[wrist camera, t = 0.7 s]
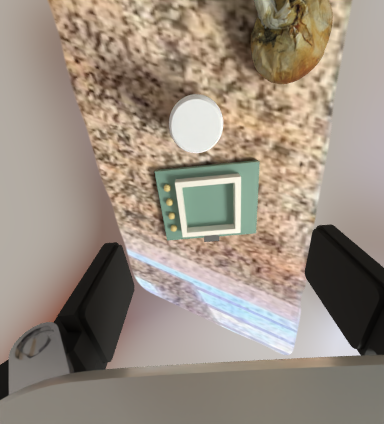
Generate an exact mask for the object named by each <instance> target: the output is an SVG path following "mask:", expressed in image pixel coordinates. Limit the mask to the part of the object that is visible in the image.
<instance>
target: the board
mask: <svg viewBox="0 0 384 424" xmlns="http://www.w3.org/2000/svg"><path fill="white" fill-rule="evenodd" d="M155 177H156V182H157V188H158V193H159V199H160V204H161V209H162V215H163V220H164V225H165V231H166V236H167V240H178V239H190V238H203V237H204V242H210V241H219V236H228V235H240V234H253V233H256V222H257V202H258V182H259V161H258V160H253V161H243V162H233V163H222V164H212V165H202V166H191V167H181V168H171V169H161V170H155Z"/></svg>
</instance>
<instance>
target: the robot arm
mask: <svg viewBox="0 0 384 424" xmlns="http://www.w3.org/2000/svg"><path fill="white" fill-rule="evenodd" d="M305 276H306V279H307V280H308V282H309V283H310V285H311V286H312V288H313V289H314V291H315V292H316V294H317V295H318V297H319V298H320V300H321V301H322V303H323V304H324V306H325V307H326V309H327V310H328V312H329V314H330V315H331V317H332V318H333V320H334V321H335V323H336V324H337V326H338V327H339V329H340V330H341V332H342V333H343V335H344V336H345V338H346V339H347V340H348V342H349V344H350V345H351V346H352V347H353V348H354V349H357V350H358V352H359V353H360V355H361V356H338V357H318V358H297V359H278V360H277V359H275V360H257V361H238V362H219V363H200V364H183V365H165V366H147V367H131V368H120V369H119V368H118V369H105V368H106V366H107V363H108V362H110V361H111V360H112V358H113V354H114V352H115V349H116V345H117V342H118V339H119V336H120V333H121V330H122V327H123V324H124V320H125V317H126V314H127V311H128V308H129V305H130V302H131V298H132V295H133V292H134V283H133V279H132V276H131V273H130V270H129V266H128V263H127V260H126V257H125V254H124V251H123V248H122V246H121V245H119V244H118V243H116V242H115V243H105V244H104V245H103V246H102V248H101V249H100V251H99V253H98V254H97V256H96V257H95V259H94V260H93V262H92V263H91V265H90V267H89V268H88V270H87V272H86V273H85V274H84V276H83V278H82V279H81V281H80V282H79V283H78V285H77V287H76V288H75V290H74V291H73V293H72V294H71V296H70V297H69V299H68V301H67V302H66V304H65V305H64V307H63V308H62V310H61V311H60V313H59V314H58V317H57V318H56V320H55V321H54V323H53V322H46V323H42V324H39V325H37V326H35V327H33V328H31V329H30V330H28V331H27V332H25V333H24V334H23V335H22V336H21V337H20V338H19V339H18V340H17V341H16V343H15V344H14V345H13V347H12V349H11V351H10V354H9V359H8V360H7V361H6V362H4V363H2V364H1V365H0V424H384V268H383V267H382V266H381V265H380V264H379V263H377V262H376V261H375V260H374V259H373V258H371V257H370V256H369V255H368V254H367V253H366V252H364V251H363V250H362V249H361V248H360V247H358V246H357V245H356V244H355V243H354V242H352V241H351V240H350V239H349V238H348V237H346V236H345V235H344V234H343V233H342V232H341V231H340V230H338V229H337V228H336V227H335V226H333V225H319V226H317V228H316V229H314V230H313V232H312V237H311V243H310V248H309V253H308V258H307V263H306V268H305Z"/></svg>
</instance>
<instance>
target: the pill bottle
mask: <svg viewBox="0 0 384 424" xmlns="http://www.w3.org/2000/svg"><path fill="white" fill-rule="evenodd" d="M169 130H170V134H171V136H172V138H173V140H174V142H175V143H176V144H177V145H178V146H179V147H180V148H181V149H183V150H185V151H187V152H191V153H201V152H205V151H207V150H209V149H211V148H212V147H213V146H214V145H215V144H216V143H217V141H218V140H219V138H220V136H221V134H222V130H223V117H222V113H221V111H220V109H219V107H218V106H217V104H216V103H215V102H214V101H213V100H212V99H210V98H209V97H207V96H204V95H200V94H192V95H188V96H185V97H184V98H182V99H181V100H179V101H178V102H177V103H176V105H175V106H174V107H173V109H172V111H171V114H170V118H169Z"/></svg>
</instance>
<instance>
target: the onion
mask: <svg viewBox="0 0 384 424" xmlns="http://www.w3.org/2000/svg"><path fill="white" fill-rule="evenodd" d="M254 3H255V7H256V9H257V11H258V17H257V19H256V22H255V25H254V29H253V31H252V33H251V53H252V59H253V62H254V66H255V68H256V70H257V71H258V73H259V74H260V75H262V76H263V77H264V78H265V79H267V80H268V81H270V82H272V83H277V84H287V83H291V82H294V81H297V80H299V79H300V78H302V77H303V76H305V75H306V74H308V73H309V72H310V71H311V70H312V69H313V68H314V67H315V66H316V65H317V64H318V62H319V61H320V59H321V58H322V56H323V54H324V50H325V48H326V45H327V43H328V40H329V36H330V33H331V28H332V18H333V12H332V9H331V5H330V2H329V0H254Z"/></svg>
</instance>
